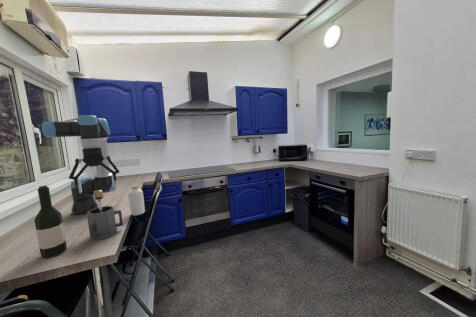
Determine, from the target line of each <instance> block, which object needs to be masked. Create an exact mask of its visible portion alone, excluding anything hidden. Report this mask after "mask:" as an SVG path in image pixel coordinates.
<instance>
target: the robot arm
mask: <svg viewBox="0 0 476 317" xmlns="http://www.w3.org/2000/svg"><path fill="white" fill-rule="evenodd" d="M41 129H42V130H41V131H42V133H43V135H44V137H45V138H67V137H69V138H70V137H80V144H81V147H82V155H83V157H82V158H76V159H75V160H74V161H75V162H74V166H73V168H72V170H71V172H70V174H69V176H68V179H69V180H72V181H71V182H70V190H71V197H72V207H71V211H70V213H71V215H76V216H77V215H78V216H79V215H84V214H87V212H88V211H90V210H93V209H95V208H99V203H98V202H97V200H95V198H94V191H97V190H102V191H103V194H105V193H111V192H115V190H117V174H119V173H120V170H119V169H118V167H117V166H116V165H115V163H114V162H113V161H112V159H111V156H110V155H109V151H108V150H109V149H108V143H107V142H108V141H107V140H108V139H109V136H110V135H111V131H110V127H109V124H108V121H107V119H106V118H104V117H102V118H101V117H97V116H96V115H92V114H91V115H90V114H81V115H78V116H77V118H71V119H66V120H64V121H43V122H42V124H41ZM82 162H83V163H84V166H83V167H82V168H81V169H80V170H79V171H78V173H77V174H76V175H75V173H76V171H77V169H78V168H79V165H80V164H81V163H82ZM88 167H95V172H96V174H95V175H94V178H92V176H86V177H81V175H82V174H83V173H84V171H86V170H87V168H88ZM111 167H112V168H113V169H114V170H113V169H112V168H111ZM79 177H80V178H79Z"/></svg>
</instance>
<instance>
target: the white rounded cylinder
mask: <svg viewBox="0 0 476 317" xmlns="http://www.w3.org/2000/svg"><path fill="white" fill-rule="evenodd" d="M130 188H131V189H130V190H129V191H128V193H127V194H128V202H129V210H130V215H131V216H140V215H143V214H144V213H145V212H146V208H145V198H144V191H143V190H142V189H140V188H139V185H135V186H131V187H130Z"/></svg>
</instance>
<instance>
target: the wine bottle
mask: <svg viewBox="0 0 476 317" xmlns="http://www.w3.org/2000/svg"><path fill="white" fill-rule="evenodd" d="M37 193H38V199H39V205H40V209H39V211H38V213H37V214H36V216H35V218H34V221H33V222H34V226H35V231H36V236H37V242H38V248H39V254H40V258H41V259H46V260H47V259H50V258H54V257H58V256H60V255H61V254H63V253H65V252H66V250H67V249H68V247H67V246H68V245H67V242H66V241H67V240H66V234H65V228H64V222H63V216H62V213H61V211H59V210H58V209H57V208H55V206H53V204H52V198H51V193H50V187H48V185H40V186H38V188H37Z"/></svg>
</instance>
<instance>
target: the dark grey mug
mask: <svg viewBox="0 0 476 317" xmlns="http://www.w3.org/2000/svg"><path fill="white" fill-rule="evenodd" d="M101 207H102V212H101V213H100V210H99V207H98V208H95V209H93V210H90V211H88V212H87V213H86V218H87V226H88V230H89V238H90V240H91V241H101V240H104V239H108V238H110V237H112V236H114V235H116V234H117V233H118V227H122V226H124V223H123V216H122V209H119V210H115V208H114V206H112V205H105V206H101ZM116 215H118V218H119V223H116Z"/></svg>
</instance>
